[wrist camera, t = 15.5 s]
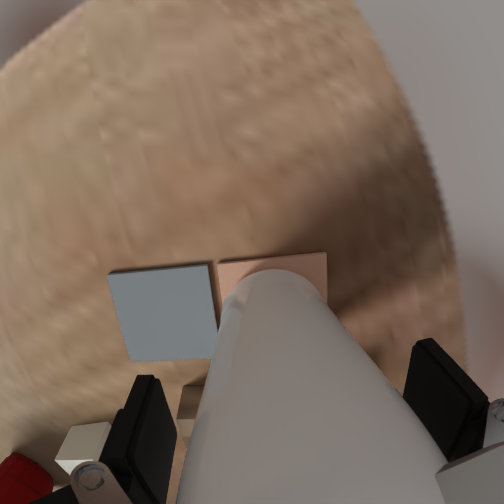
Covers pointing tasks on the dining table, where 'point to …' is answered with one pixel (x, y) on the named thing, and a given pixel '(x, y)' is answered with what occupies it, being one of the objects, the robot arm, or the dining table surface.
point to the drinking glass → (301, 410)
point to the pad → (303, 264)
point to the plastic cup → (22, 480)
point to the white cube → (82, 445)
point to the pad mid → (165, 312)
